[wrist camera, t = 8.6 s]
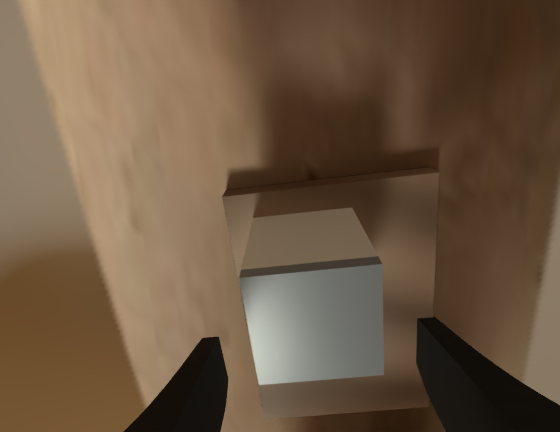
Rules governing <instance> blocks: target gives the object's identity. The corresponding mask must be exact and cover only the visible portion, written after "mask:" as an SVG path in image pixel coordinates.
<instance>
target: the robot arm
mask: <svg viewBox="0 0 560 432" xmlns="http://www.w3.org/2000/svg"><path fill="white" fill-rule="evenodd" d="M416 364H417V367H418V370H419V373H420V376H421V379H422V381H423V384H424V387H425V389H426V392H427V394H428V396H429V398H430V400H431V402H432V404H433V406H434V408H435V410H436V412H437V414H438V416H439V418H440V420H441V422H442V424H443V426H444V428H445V430H446V432H560V405H558V404H557V403H555V402H553V401H551V400H550V399H548V398H546V397H545V396H543V395H541V394H539V393H538V392H536V391H535V390H533V389H531V388H530V387H528V386H526V385H525V384H523V383H522V382H520V381H519V380H517V379H516V378H514V377H513V376H511V375H510V374H508V373H507V372H505V371H504V370H502V369H501V368H500V367H498V366H497V365H495V364H494V363H493V362H491V361H490V360H488V359H487V358H486V357H484V356H483V355H482V354H480V353H479V352H478V351H476V350H475V349H474V348H473V347H471V346H470V345H469V344H467V343H466V342H465V341H464V340H462V339H461V338H460V337H459V336H457V335H456V334H455V333H454V332H453V331H451V330H450V329H449V328H448V327H446V326H445V325H444V324H443V323H442V322H440V321H439V320H438V319H437V318H435V317H428V318H417V346H416ZM227 388H228V376H227V371H226V367H225V362H224V358H223V354H222V349H221V345H220V340H219V337H209V338H202V339H201V340H200V342H199V343H198V344H197V346H196V347H195V348H194V350H193V351H192V352H191V354H190V355H189V357H188V358H187V359H186V361H185V362H184V363H183V365H182V366H181V367H180V369H179V370H178V371H177V372H176V374H175V375H174V376H173V377H172V379H171V380H170V381H169V383H168V384H167V385H166V386H165V387H164V389H163V390H162V391H161V392H160V393H159V394H158V396H157V397H156V398H155V399H154V400H153V401H152V403H151V404H150V405H149V406H148V407H147V408H146V409H145V410H144V412H142V414H141V415H140V416H139V417H138V418H137V419H136V420H135V421H134V422H133V423H132V424H131V425H130V426H129V427H128V428H127V429H126V430H125V431H124V432H220V431H221V426H222V421H223V417H224V412H225V407H226V398H227Z"/></svg>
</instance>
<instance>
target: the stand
mask: <svg viewBox="0 0 560 432" xmlns="http://www.w3.org/2000/svg"><path fill="white" fill-rule="evenodd" d="M439 173H440V172H438V171H436V170H435V169H433V168H431V167H424V168H416V169H407V170H398V171H389V172H381V173H372V174H363V175H354V176H346V177H337V178H328V179H319V180H311V181H302V182H293V183H284V184H276V185H267V186H258V187H249V188H240V189H232V190H226V191H225V193H224V195H223V196H222V198H223V204H224V209H225V214H226V220H227V225H228V230H229V235H230V241H231V246H232V251H233V256H234V262H235V267H236V272H237V277H238V283H239V288H240V293H241V298H242V304H243V309H244V314H245V319H246V325H247V330H248V335H249V329H248V324H247V318H246V313H245V308H244V302H243V297H242V291H241V286H240V281H239V276H240V272H241V267H242V263H243V259H244V254H245V250H246V245H247V241H248V237H249V232H250V228H251V224H252V219H253V218H257V217H266V216H275V215H285V214H294V213H304V212H313V211H322V210H332V209H341V208H351V207H352V208H353V210H354V212H355V214H356V216H357V218H358V220H359V221H360V223H361V225H362V227H363V229H364V231H365V232H366V234H367V236H368V238H369V240H370V242H371V244H372V245H373V247H374V249H375V251H376V253H377V255H378V257H379V258H380V260H381V262H382V264H383V336H384V375H377V376H365V377H353V378H340V379H328V380H316V381H303V382H291V383H279V384H266V385H259V383H258V388H259V393H260V398H261V404H262V409H263V414H264V419H265V420H267V419H280V418H292V417H305V416H318V415H331V414H344V413H357V412H369V411H382V410H395V409H408V408H421V407H429V396H428V394H427V392H426V389H425V387H424V384H423V381H422V379H421V376H420V373H419V370H418V367H417V364H416V346H417V318H428V317H433V306H434V284H435V262H436V239H437V217H438V195H439ZM249 340H250V335H249ZM250 346H251V351H252V345H251V340H250ZM252 356H253V351H252ZM253 361H254V356H253ZM254 367H255V362H254ZM255 372H256V367H255ZM256 377H257V372H256ZM257 382H258V378H257Z"/></svg>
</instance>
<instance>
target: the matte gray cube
mask: <svg viewBox="0 0 560 432" xmlns="http://www.w3.org/2000/svg"><path fill="white" fill-rule="evenodd" d="M239 281H240V286H241V291H242V297H243V302H244V308H245V313H246V318H247V324H248V329H249V335H250V340H251V345H252V351H253V356H254V362H255V367H256V372H257V378H258V383H259V385H266V384H279V383H291V382H303V381H316V380H328V379H340V378H353V377H365V376H377V375H384V336H383V264H382V262H381V260H380V258H379V257H378V255H377V253H376V251H375V249H374V247H373V245H372V244H371V242H370V240H369V238H368V236H367V234H366V232H365V231H364V229H363V227H362V225H361V223H360V221H359V220H358V218H357V216H356V214H355V212H354V210H353V208H352V207H351V208H341V209H332V210H322V211H313V212H304V213H294V214H285V215H275V216H266V217H257V218H253V219H252V224H251V228H250V232H249V237H248V241H247V245H246V250H245V254H244V259H243V263H242V267H241V272H240V276H239Z"/></svg>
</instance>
